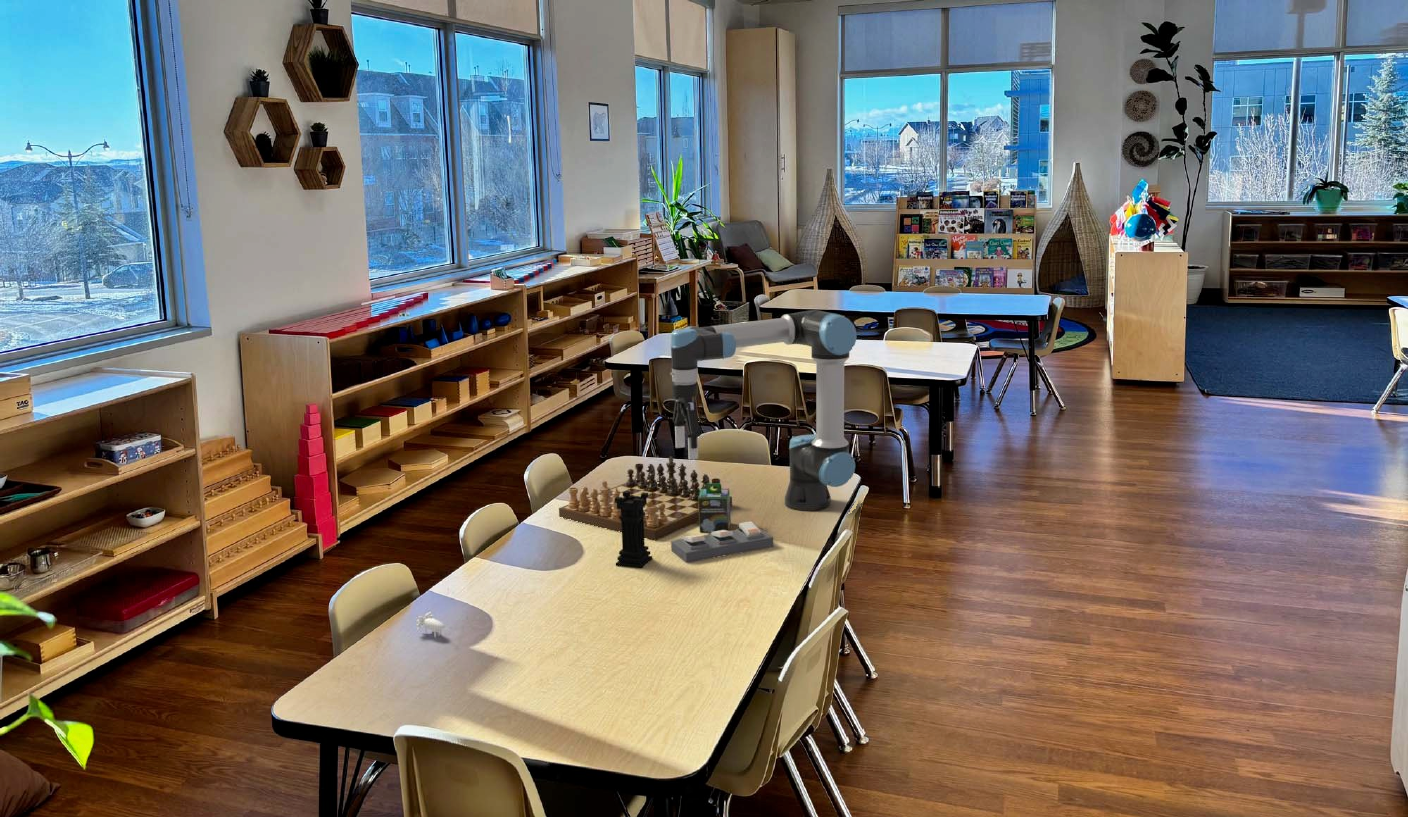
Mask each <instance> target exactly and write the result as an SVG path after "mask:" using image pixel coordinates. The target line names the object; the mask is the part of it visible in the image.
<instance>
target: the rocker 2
mask: <svg viewBox="0 0 1408 817" xmlns="http://www.w3.org/2000/svg"><path fill="white" fill-rule="evenodd" d="M738 527H739V529H740V528H741V529H742V530H743V531H744V533H745V534H746V535H747V536H754V535H759V534H761V531H760V530H759V529H758V528H759V527H758V526H757V527H758V528H757V527H756V525H755V524H754V523H753V522H752V521H751V520H750V521H745V522H740V523H738Z"/></svg>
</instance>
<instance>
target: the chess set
mask: <svg viewBox="0 0 1408 817" xmlns="http://www.w3.org/2000/svg"><path fill="white" fill-rule="evenodd" d="M665 465H666V467H667V470H666V473H667V474H668V478H666V476H665V473H664V471H665V467H664V466H663V464H662V463H658V466H657V468H655V466H654V465H653V464H652V463H649V464H648V465H647V469H646V472H647V473H648V474H647V476H646V472H644V471H643V469H644V464H643V463H636V464H635V466H634V469H635V470H636V473H635V472H634V469H632V468H629V469H628V470H627V477H628V479H627V481H626V482H624V483H622V484H619V485H617V486H615V487H612V488H611V487H609V486H608V481H606V480H603V481H602V487H600V488H599V490H600V492H598V490H597V489H596V488H592V489H591V491H590V493H589V491H588V490H589V489H588V487H587V486H582V487H581V489H580V492H579V489H578V487H569V488H568V493H569V494H570V499H569V500H568V504H567V505H564V506H561V507H559V508H558V517H563V518H566V519H565V520H567V519H571V520H574V521H573V522H575V521H578V522H577V523H579V522H582V523H581V524H583V523H585V524H584V525H587V524H590V525H589V526H591V525H594V526H593V527H596V526H598V527H597V528H600V527H601V529H604V528H607V529H606V530H608V529H610V530H609V531H612V530H614V531H613V532H616V531H620V532H622V524H621V519H619V517H620V516H621V509H617V503H616V502H615V498H616V497H622V498H623V492H624V491H630V496H639V497H641V493H643V492H645V493H648V497H647V504H646V505H645V506H643V512H645V516H644V539H645V538H647V540H650V541H654V540H655V541H654V542H656V541H658V540H660V539H662V538H665V537H667V536H669V535H671V534H673V533H675V532H677V531H680V530H682V528H683V529H685V528H687V527H689V526H691V525H694V524H695V523H699V505H698V497H699V495H700V491H701V490H702V489H706V484H707V483H710V477H709V475H708V474H706V473H704V474H703V476H702V478H701V480H700V483H702V486H701V487H700V483H699V480H698V472H696V470H695V469H692V472H691V473H690V475H689V476H690V482H691V483H692V484H691V485H690V487H689V486H688V485H689V482H688V480H687V479H686V476H687V472H686V469H687V466H684V463H683V462H682V463H680V466H678V467H677V469H678V470H679V472H678V474H677V475H678V477H680V478H679V483H678V481H677V479H676V477H675V474H676V473H677V471H676V469H675V467H676V465H677V462H674V458H673V456H669V457H668V462H666V464H665ZM655 469H656V470H655ZM656 471H657V473H656ZM634 474H636V475H635V476H634ZM656 476H658V478H657V479H655V478H656ZM711 483H720V484H721V479H720V478H711ZM712 489H717V487H715V486H712ZM578 492H579V498H578V496H577V494H578ZM731 507H733V497H732V496H730V508H731ZM571 520H570V521H571ZM620 532H619V533H620Z"/></svg>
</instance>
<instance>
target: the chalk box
mask: <svg viewBox="0 0 1408 817" xmlns="http://www.w3.org/2000/svg"><path fill="white" fill-rule="evenodd" d="M713 486H715V487H717V489H713ZM700 490H701V489H700ZM698 505H699V521H698V523H699V524H698V525H699V532H700V533H711V532H714V531H720V530H726V531H730V529H731V528H730V527H731V523H732V519H731V516H732V515H731V507H730V488H722V484H721V482H720V483H712V482H711V483H707V484H706V489H702V490H701V491H700V495H699V497H698Z"/></svg>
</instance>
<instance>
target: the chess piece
mask: <svg viewBox="0 0 1408 817" xmlns="http://www.w3.org/2000/svg"><path fill="white" fill-rule="evenodd" d="M647 497H648V493H645V492H643V493H641V497H639V496H630V491H624V492H623V498H622V497H616V498H615V502H616V503H617V509H621V516H620V517H619V519H621V524H622V533H621V544H622V549H621V550H620V551H619V552H618V556H617V561H616V563H615V567H622V568H631V569H632V568H633V569H639V570H640V569H643V568H644V567H645V566H647V564H649V563H650V562H651V561H652V560H653V556H652V555H651V551H650V550H649V546H648V545H645V538H644V516H645V512H643V506H645V505H646V504H647Z"/></svg>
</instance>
